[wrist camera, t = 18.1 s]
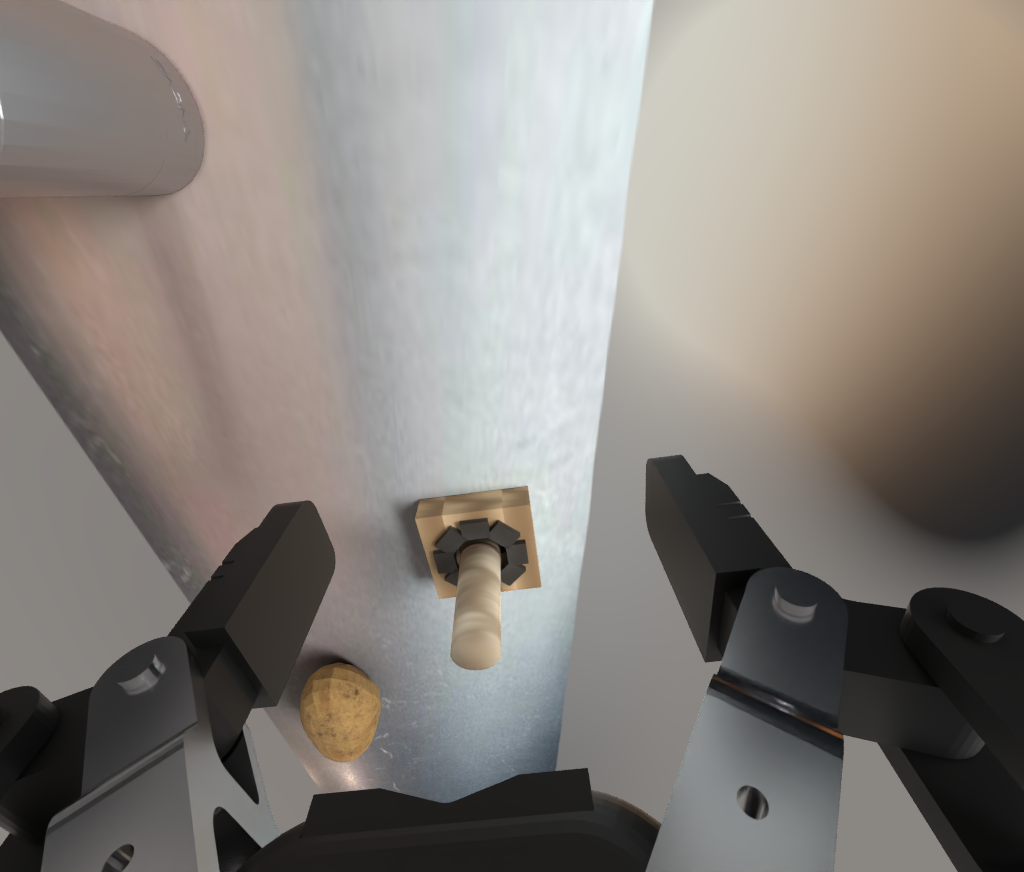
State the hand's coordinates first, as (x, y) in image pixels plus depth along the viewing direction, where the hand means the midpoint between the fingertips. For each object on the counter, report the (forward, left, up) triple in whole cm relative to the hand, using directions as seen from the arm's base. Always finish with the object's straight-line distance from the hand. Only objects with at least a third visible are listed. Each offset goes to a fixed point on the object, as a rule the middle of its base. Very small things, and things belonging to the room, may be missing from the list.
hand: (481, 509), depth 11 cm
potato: (-26, -46, -28) cm, 60 cm away
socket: (-5, -25, -28) cm, 38 cm away
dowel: (-5, -25, -28) cm, 38 cm away
